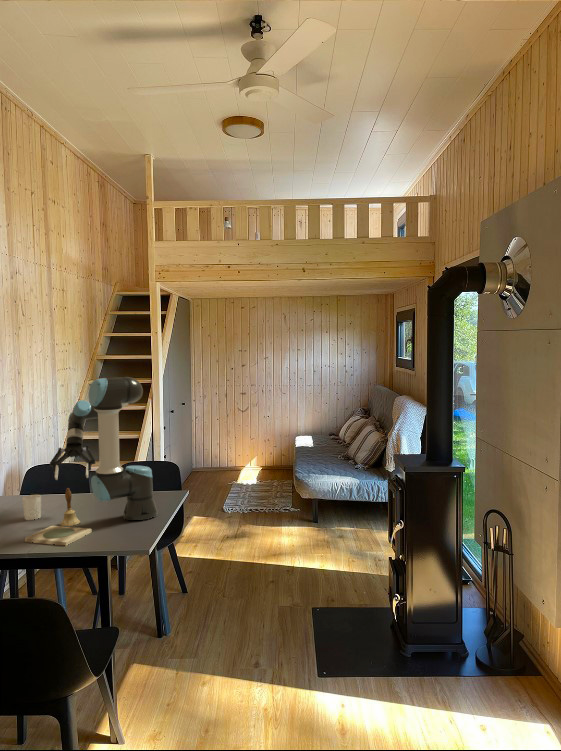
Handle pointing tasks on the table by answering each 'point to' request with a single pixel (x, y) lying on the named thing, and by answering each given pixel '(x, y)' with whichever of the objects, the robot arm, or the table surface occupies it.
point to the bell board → (58, 535)
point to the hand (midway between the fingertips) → (71, 477)
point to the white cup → (32, 507)
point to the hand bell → (69, 512)
